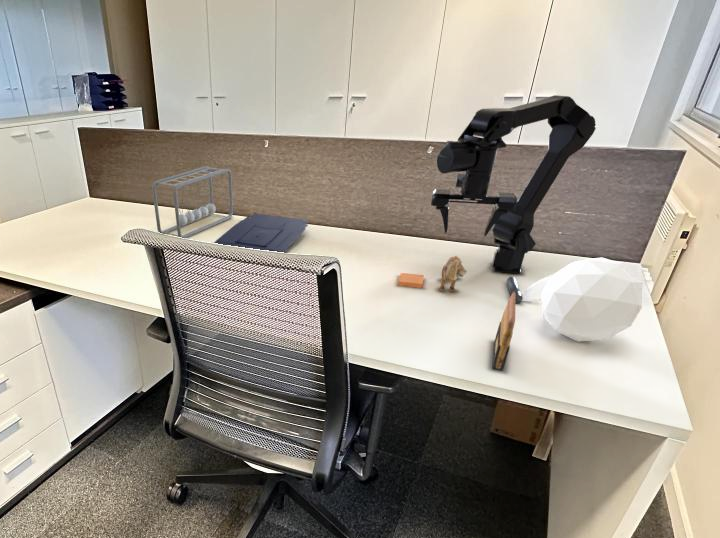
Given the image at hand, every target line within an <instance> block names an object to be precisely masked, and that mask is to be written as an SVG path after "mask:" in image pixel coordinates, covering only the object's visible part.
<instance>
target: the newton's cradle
mask: <svg viewBox="0 0 720 538" xmlns="http://www.w3.org/2000/svg"><path fill="white" fill-rule="evenodd" d="M212 170H215V171H212ZM206 171H207V173H206ZM204 172H205V173H206V174H205V173H204ZM200 173H201V175H200V176H197V175H198V174H200ZM225 173H227V175H228V196H229V197H228V198H229V200H228V201H229V213H228V215H222V214H216V209H217V208H216V205H215V204H214V192H213V183H214V182H213V181H214V177H216V176H219V175H223V174H225ZM190 176H192V177H193V178H190V179H189V177H190ZM185 177H187V179H186V178H185ZM182 179H184V181H182ZM207 179H208V188H209V189H208V190H209V193H206V192H208V190H207V186H206V183H207V182H206V180H207ZM177 180H179V181H178V182H177V183H175V184H174V182H175V181H177ZM201 181H203V182H204V188H205V190H204V192H203V198H205V197H206V196H207V199H208V201H209V202H208V204H206V205H205V204H203V202H202V198H201V197H199V196H201V195H200V194H201V193H200V192H199V191H200V188H199V182H201ZM169 182H170V183H169ZM171 182H172V184H171ZM194 183H196V185H197V193H196V197H197V198H196V200H198V198H199V201H200V204H201V206H200V207H199V208H198V207H196V205H195V204H193V206H194V209H193V210H192V211H191V207H189V209H188V205H187V201H186V199H184V200H181V201H182V205H181V207H182V208H181V209H180V205H179V201H178V189H180V188H182V194H183V198H186V197H185V192H184V187H185V186H189V189H190V191H189V198H191V197H192V202H193V203H195V200H194V196H193V195H192V194H193V192H192V186H190V185H192V184H194ZM158 185H164V186H171V187H173V191H172V195H173V203H174V213H175V223H176V225H174V226H171V227H168V228H165V229H164V230H162V228H161V220H160V219H161V218H160V212H159V206H158V204H159V203H158V196H157V186H158ZM151 187H152V188H151V190H152V199H153V205H154V206H153V207H154V214H155V221H156V228H157V233H159V232H160V233H164V234H163V235H165V234H166V235H171V236H175V237H178V238H179V237H182V238H184V239H187V238H188V237H191V236H193V235H196V234H198V233H200V232H202V231H205V230H207V229H209V228H212V227H214V226H216V225H219V224H221V223H223V222H225V221H228V220H230V219H232V217H233V216H234V215H233V214H234V203H233V178H232V170H231V169H229V168H217V167H210V166H208V165H205V166H201V167H199V168H198V167H197V168H195V169H193V170H192V169H191V170H188V171H185V172H182V173H179V174H175V175H172V176H169V177H164V178H162V179H159V180H156V181H154V182H153V184H152V186H151ZM184 202H185V206H186V210H187V211H186V212H185V213H184V214H183V213H182V212H183V208H184ZM209 216H218V217H222V218H220V219H218V220H215V221H213V222H211V223H208V224H206V225H204V226H201V227H198V228H196V229H194V230H191V231H189V232H187V233H185V234H183V235H182V231H181V227H185V226H187V225H189V224H192V223H195V222H197V221H199V220H201V219H204V218H207V217H209ZM174 230H176V233H177V234H175V233H171V232H172V231H174ZM160 233H159V234H160Z"/></svg>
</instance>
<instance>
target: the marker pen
mask: <svg viewBox="0 0 720 538" xmlns="http://www.w3.org/2000/svg"><path fill="white" fill-rule="evenodd" d="M506 284H507V287H508V290H509V293H510V296H511V295H512V294H513V293H515V304H519V303H521V302H523V301H522V296H521V295H522V293H521V291H520V288H519V286H518V283H517V280H516V278H515V277H514V276H509V277H507V279H506Z"/></svg>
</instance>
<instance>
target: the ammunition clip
mask: <svg viewBox="0 0 720 538" xmlns="http://www.w3.org/2000/svg"><path fill="white" fill-rule="evenodd" d="M515 322H516V303H515V293H513V294H512V295H511V294H510V297H509V299H508V301H507V304H506V306H505V309H504V311H503V314H502V317H501V319H500V321H499V324H498V327H497V330H496V334H495V337H494V341H493V349H492V350H493V351H492V362H491V363H492V365H491V369H492V370H497V371H504V368H505V364H506V361H507V358H508V354H509V351H510V349H511V348H510V347H511V345H510V344H511V340H512V338H513V331H514V326H515V324H516V323H515Z"/></svg>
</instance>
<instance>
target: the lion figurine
mask: <svg viewBox="0 0 720 538" xmlns="http://www.w3.org/2000/svg"><path fill="white" fill-rule="evenodd" d="M467 272H468V271H467V270H466V269H465V268H464V266H463V264H462V260H461V258H460V257H458V256H457V255H456V256H451V257H450V258H448V260H447V262H446V264H444V265H443V267H442V268H441V278H440V287H439V288H438V291H439V292H444V291H445V289H446V288H445V285H446V283H450V285H449V291H450V292H456V288H455V285H456V284H457V280H458V279H459V278H463V277H464V275H466V273H467Z"/></svg>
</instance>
